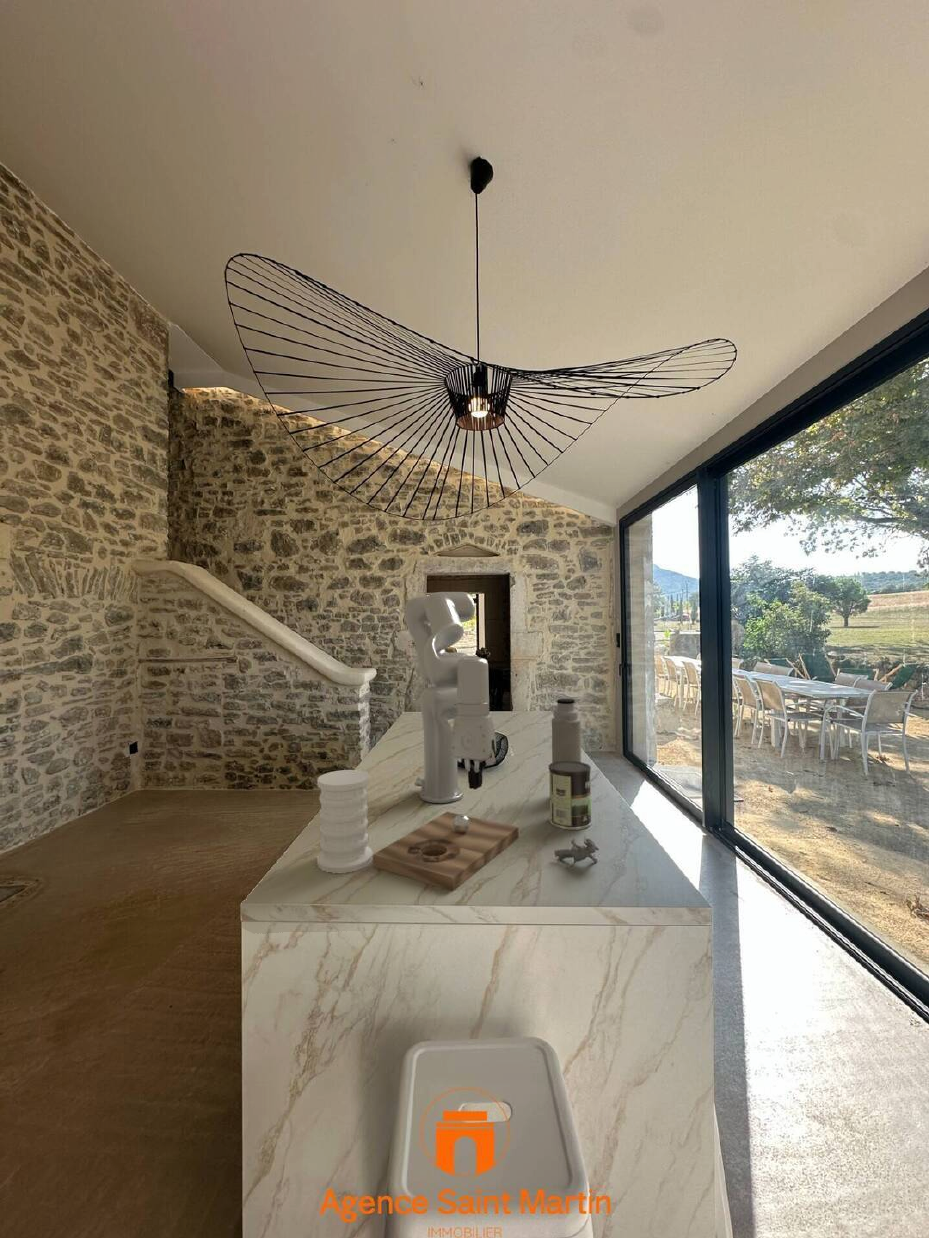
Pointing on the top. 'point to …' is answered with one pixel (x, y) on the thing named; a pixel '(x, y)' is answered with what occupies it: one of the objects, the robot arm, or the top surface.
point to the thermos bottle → (566, 732)
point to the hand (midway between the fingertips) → (475, 787)
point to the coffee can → (570, 795)
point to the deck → (445, 850)
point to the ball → (461, 823)
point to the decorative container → (344, 821)
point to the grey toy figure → (578, 851)
